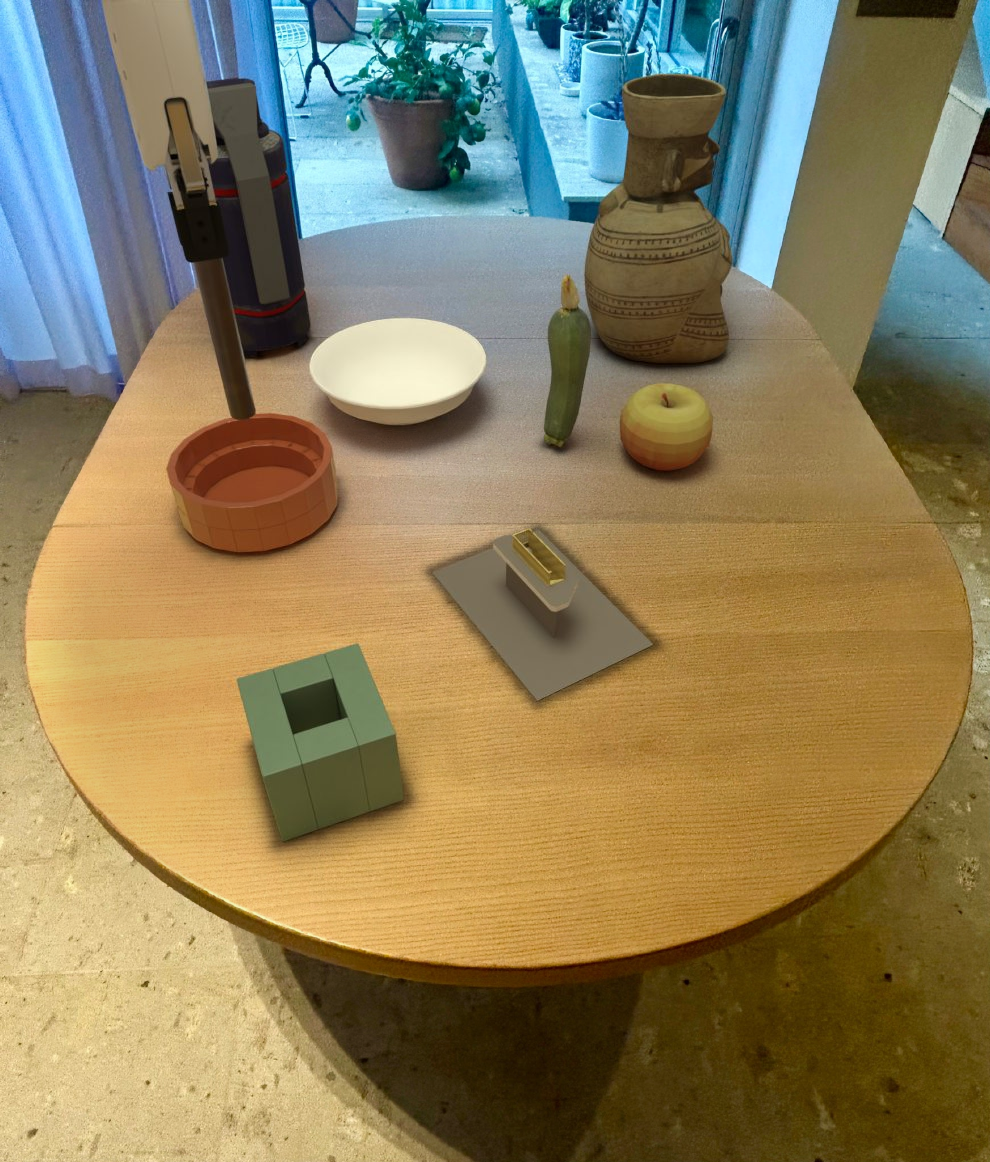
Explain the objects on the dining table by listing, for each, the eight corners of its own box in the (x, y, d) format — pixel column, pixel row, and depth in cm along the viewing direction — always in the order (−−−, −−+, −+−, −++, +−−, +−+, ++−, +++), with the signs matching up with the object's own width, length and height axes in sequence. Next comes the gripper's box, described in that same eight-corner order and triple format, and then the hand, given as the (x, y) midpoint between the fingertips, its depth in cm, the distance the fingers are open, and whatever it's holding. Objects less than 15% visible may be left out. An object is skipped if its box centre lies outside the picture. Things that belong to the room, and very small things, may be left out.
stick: (232, 422, 76) (174, 181, 62) (228, 409, 78) (170, 171, 64) (258, 417, 77) (206, 177, 63) (253, 404, 78) (201, 167, 65)
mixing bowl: (195, 573, 83) (179, 524, 79) (172, 480, 93) (157, 432, 89) (357, 532, 87) (350, 483, 83) (317, 448, 98) (309, 401, 93)
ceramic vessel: (747, 318, 120) (799, 69, 99) (703, 393, 106) (754, 122, 85) (614, 291, 126) (638, 51, 105) (556, 358, 112) (570, 97, 91)
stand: (282, 842, 62) (262, 777, 57) (256, 745, 69) (236, 678, 63) (404, 800, 65) (395, 733, 60) (368, 710, 71) (358, 642, 66)
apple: (599, 463, 96) (605, 398, 90) (641, 421, 102) (649, 358, 96) (682, 494, 92) (694, 429, 86) (721, 449, 98) (734, 385, 92)
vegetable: (561, 429, 100) (572, 256, 87) (590, 445, 98) (606, 270, 84) (534, 445, 98) (541, 270, 84) (563, 461, 96) (575, 284, 82)
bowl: (518, 426, 101) (519, 376, 96) (356, 477, 94) (349, 426, 89) (440, 350, 113) (438, 303, 109) (292, 390, 106) (283, 341, 102)
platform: (538, 529, 87) (541, 475, 83) (653, 644, 76) (663, 589, 72) (431, 572, 83) (428, 517, 78) (537, 700, 72) (540, 646, 67)
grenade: (208, 329, 117) (148, 75, 97) (293, 308, 122) (253, 62, 101) (240, 376, 109) (182, 108, 88) (331, 352, 113) (296, 92, 92)
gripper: (67, -58, 59) (143, 220, 72) (80, -13, 48) (167, 304, 61) (182, -65, 61) (236, 207, 74) (220, -23, 50) (275, 286, 63)
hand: (204, 249), depth 67 cm, fingers closed on stick, 2 cm apart
